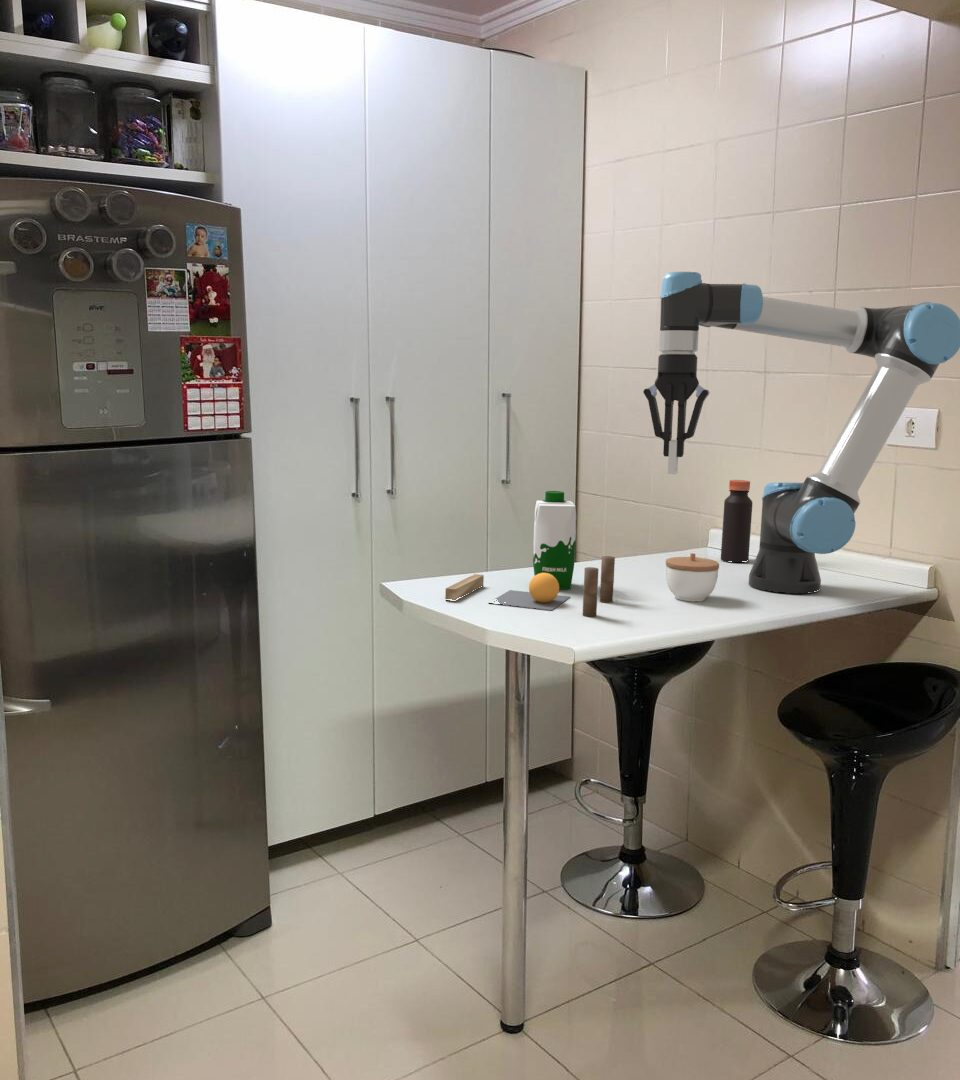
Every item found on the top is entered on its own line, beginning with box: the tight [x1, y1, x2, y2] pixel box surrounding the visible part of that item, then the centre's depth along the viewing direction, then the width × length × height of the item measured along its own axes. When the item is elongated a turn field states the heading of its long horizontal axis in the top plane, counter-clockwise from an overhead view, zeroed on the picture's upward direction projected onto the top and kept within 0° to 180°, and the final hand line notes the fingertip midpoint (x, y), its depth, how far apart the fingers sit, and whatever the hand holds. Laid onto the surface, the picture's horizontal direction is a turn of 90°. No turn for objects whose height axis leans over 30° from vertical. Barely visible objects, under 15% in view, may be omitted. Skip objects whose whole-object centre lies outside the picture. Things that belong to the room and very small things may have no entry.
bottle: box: [720, 479, 753, 562], centre depth 251 cm, size 7×7×20 cm
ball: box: [528, 573, 560, 603], centre depth 202 cm, size 6×6×6 cm
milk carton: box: [532, 490, 577, 590], centre depth 216 cm, size 9×9×20 cm
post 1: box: [582, 566, 600, 618], centre depth 192 cm, size 3×3×9 cm
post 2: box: [599, 555, 616, 604], centre depth 204 cm, size 3×3×9 cm
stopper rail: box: [444, 573, 485, 600], centre depth 208 cm, size 2×16×2 cm, turn 159°
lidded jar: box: [665, 552, 720, 603], centre depth 209 cm, size 11×11×9 cm
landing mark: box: [494, 589, 571, 611], centre depth 204 cm, size 13×13×1 cm
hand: (672, 473), depth 204 cm, fingers closed
